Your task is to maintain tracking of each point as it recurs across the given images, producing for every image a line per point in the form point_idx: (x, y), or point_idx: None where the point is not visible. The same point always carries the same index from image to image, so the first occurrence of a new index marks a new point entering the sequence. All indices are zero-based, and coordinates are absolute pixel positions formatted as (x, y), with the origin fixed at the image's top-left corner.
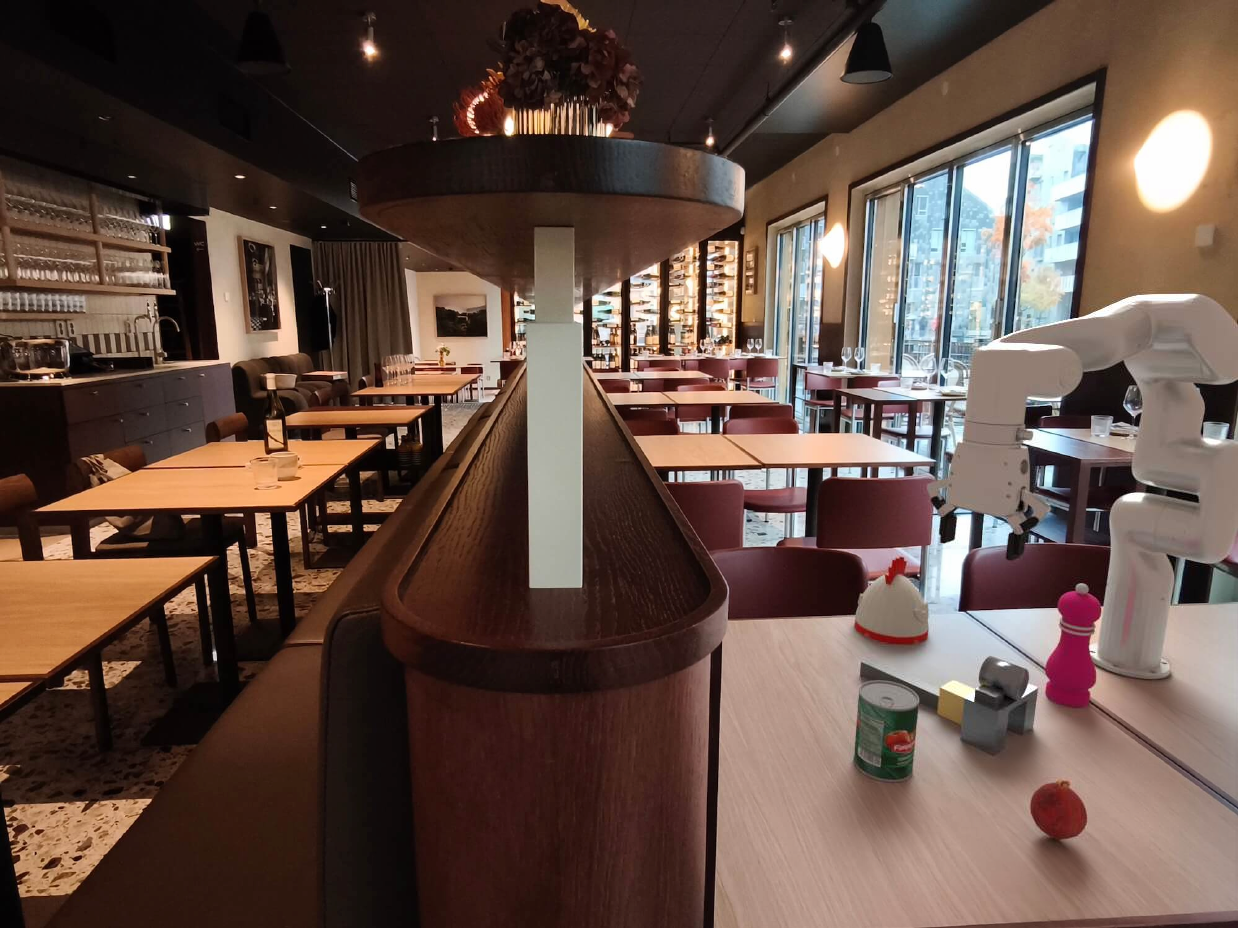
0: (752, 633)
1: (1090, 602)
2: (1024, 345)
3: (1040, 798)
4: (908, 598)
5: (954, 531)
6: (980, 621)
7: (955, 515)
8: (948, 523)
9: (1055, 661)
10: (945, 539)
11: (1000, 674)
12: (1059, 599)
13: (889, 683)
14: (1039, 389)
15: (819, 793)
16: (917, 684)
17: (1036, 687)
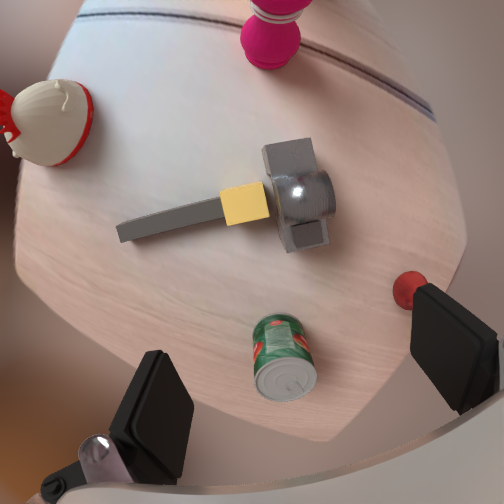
0: (36, 281)
1: None
2: None
3: (408, 309)
4: (46, 115)
5: (159, 382)
6: (96, 13)
7: (128, 436)
8: (177, 457)
9: (265, 48)
10: (192, 414)
11: (314, 219)
12: None
13: (266, 366)
14: None
15: None
16: (190, 219)
17: (309, 139)
